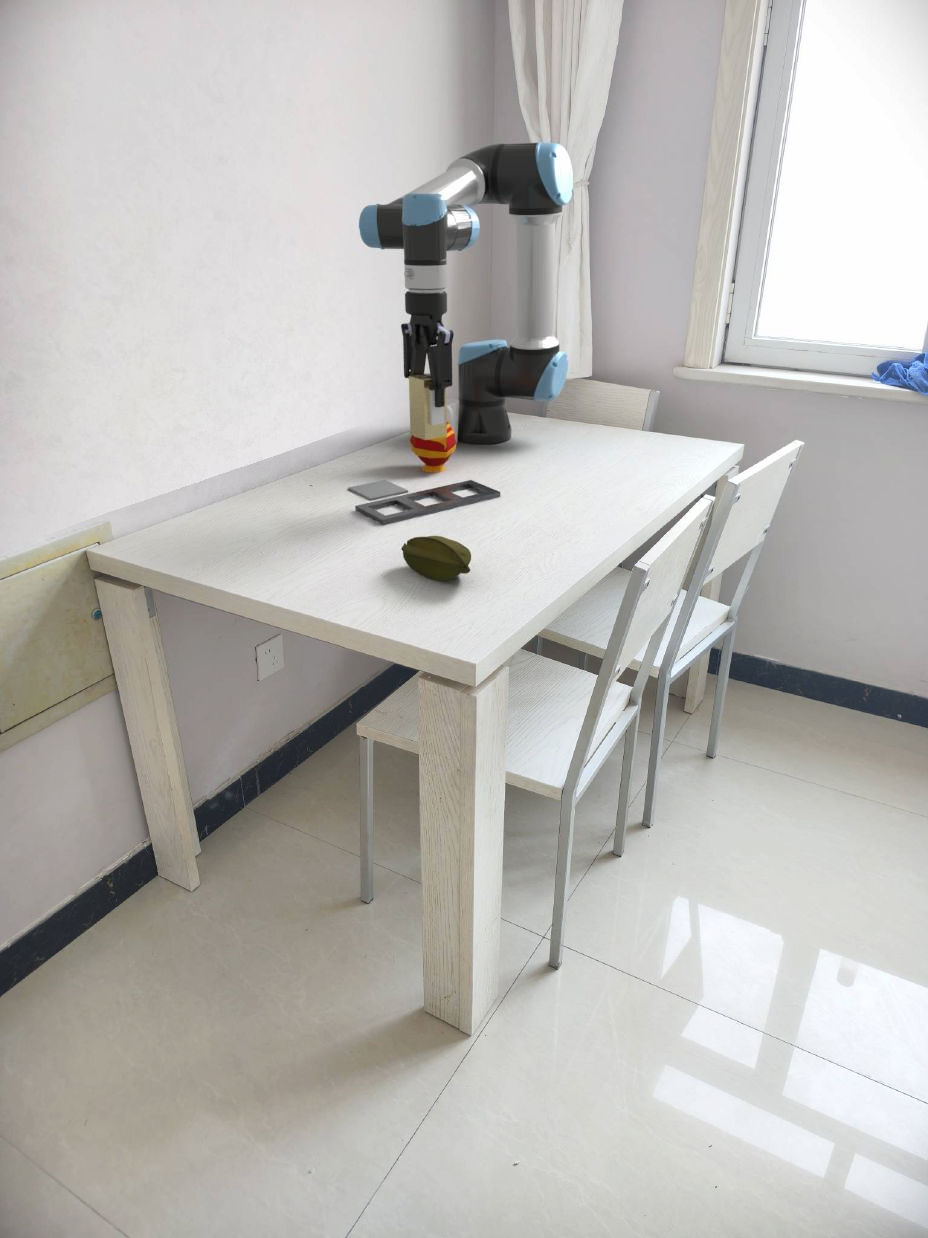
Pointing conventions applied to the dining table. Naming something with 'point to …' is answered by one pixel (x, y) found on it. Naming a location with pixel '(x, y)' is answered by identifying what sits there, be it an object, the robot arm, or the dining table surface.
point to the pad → (378, 489)
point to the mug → (453, 414)
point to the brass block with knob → (423, 409)
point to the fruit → (436, 557)
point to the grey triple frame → (419, 509)
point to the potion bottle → (434, 450)
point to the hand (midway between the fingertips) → (428, 420)
